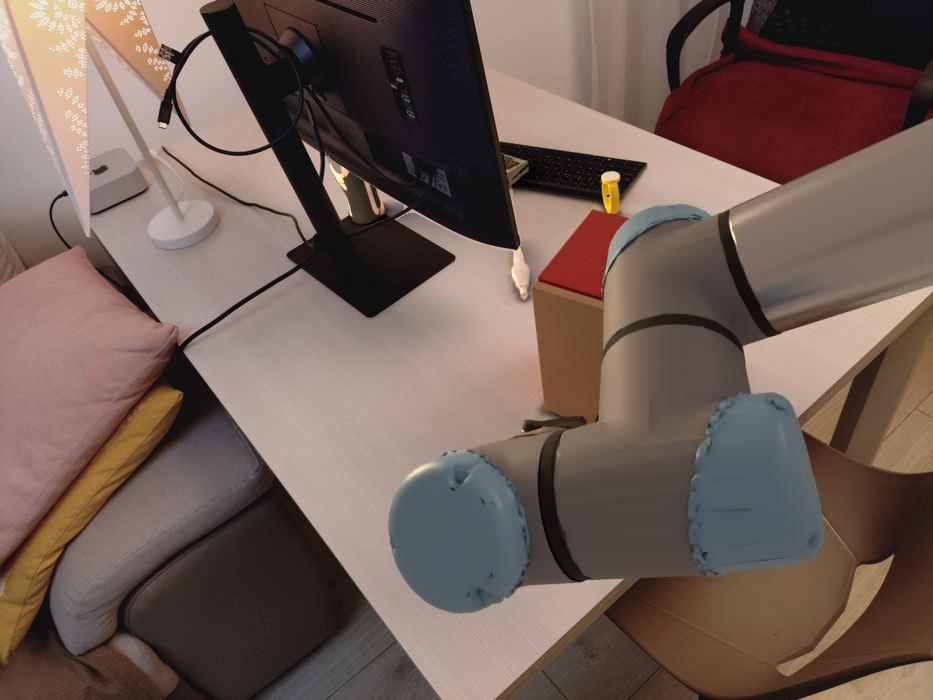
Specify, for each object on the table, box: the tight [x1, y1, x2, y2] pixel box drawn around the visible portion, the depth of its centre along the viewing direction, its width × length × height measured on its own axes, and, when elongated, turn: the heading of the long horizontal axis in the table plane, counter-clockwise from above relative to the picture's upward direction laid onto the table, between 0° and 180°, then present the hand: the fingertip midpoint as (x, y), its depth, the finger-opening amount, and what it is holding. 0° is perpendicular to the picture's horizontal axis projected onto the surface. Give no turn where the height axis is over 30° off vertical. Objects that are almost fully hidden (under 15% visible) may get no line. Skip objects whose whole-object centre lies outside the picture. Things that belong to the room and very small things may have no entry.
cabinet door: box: [530, 280, 604, 424], centre depth 63 cm, size 7×16×20 cm, turn 56°
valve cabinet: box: [536, 209, 630, 301], centre depth 68 cm, size 12×16×20 cm
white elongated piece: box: [510, 246, 531, 301], centre depth 93 cm, size 15×3×2 cm, turn 2°
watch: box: [600, 170, 621, 215], centre depth 97 cm, size 6×3×6 cm, turn 4°
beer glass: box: [325, 153, 386, 225], centre depth 104 cm, size 7×7×15 cm
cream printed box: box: [502, 153, 530, 187], centre depth 112 cm, size 16×8×3 cm, turn 50°
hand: (646, 439), depth 63 cm, fingers open, 3 cm apart
